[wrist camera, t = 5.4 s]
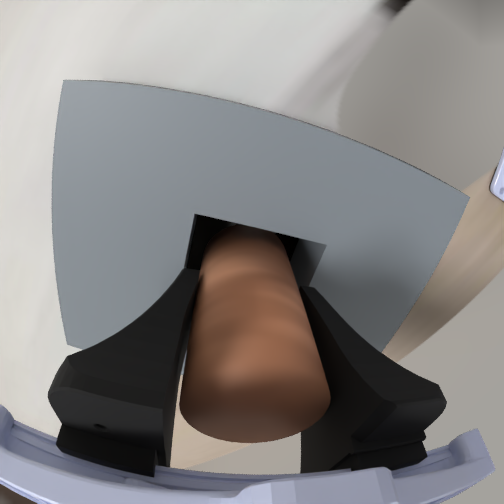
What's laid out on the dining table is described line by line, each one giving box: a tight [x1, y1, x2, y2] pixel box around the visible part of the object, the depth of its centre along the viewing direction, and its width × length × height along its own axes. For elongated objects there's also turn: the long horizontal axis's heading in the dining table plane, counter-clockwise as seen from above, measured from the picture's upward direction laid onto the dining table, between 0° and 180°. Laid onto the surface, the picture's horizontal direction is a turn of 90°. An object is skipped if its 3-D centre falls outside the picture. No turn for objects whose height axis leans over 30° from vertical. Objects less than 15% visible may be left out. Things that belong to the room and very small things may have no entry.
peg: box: [179, 224, 331, 443], centre depth 11 cm, size 4×4×8 cm
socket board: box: [52, 80, 470, 375], centre depth 14 cm, size 18×14×4 cm
